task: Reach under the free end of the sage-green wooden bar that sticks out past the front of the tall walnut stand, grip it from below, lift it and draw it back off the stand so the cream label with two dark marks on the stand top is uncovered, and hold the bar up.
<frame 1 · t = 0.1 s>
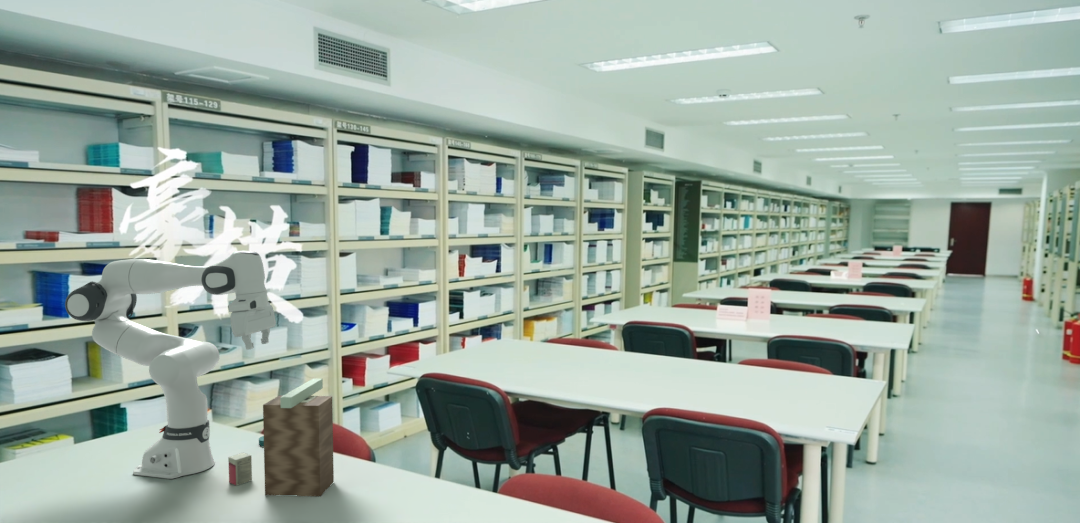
hand: (257, 346, 197), 39 cm above the table, tool pointing down, fingers open, 8 cm apart
bracket: (282, 446, 221), on the table
stand: (300, 488, 184), on the table
bar: (302, 397, 186), point 26 cm above the table, touching stand
small box: (240, 482, 189), on the table
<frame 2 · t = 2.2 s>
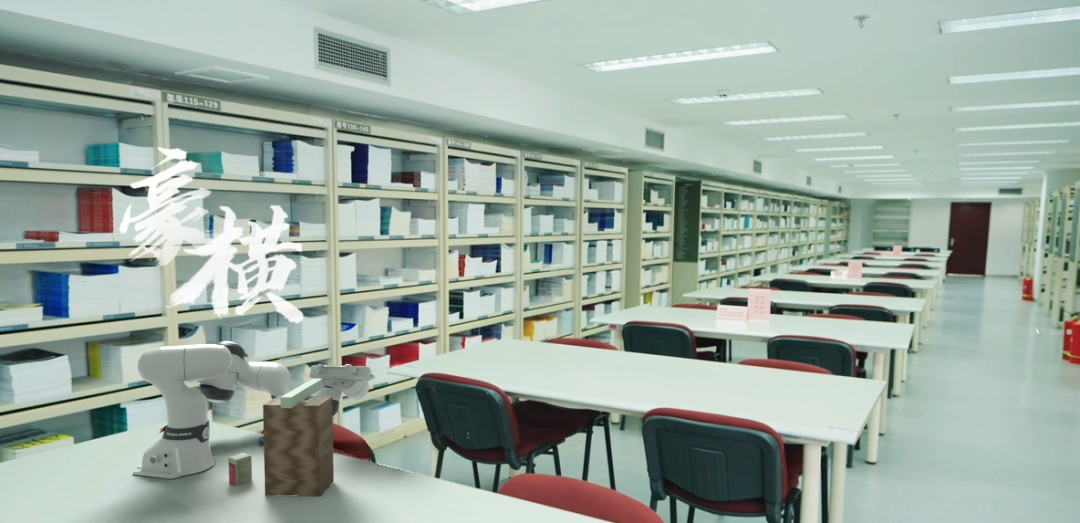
hand: (333, 366, 209), 30 cm above the table, tool pointing upward, fingers open, 8 cm apart
nothing on the table moved.
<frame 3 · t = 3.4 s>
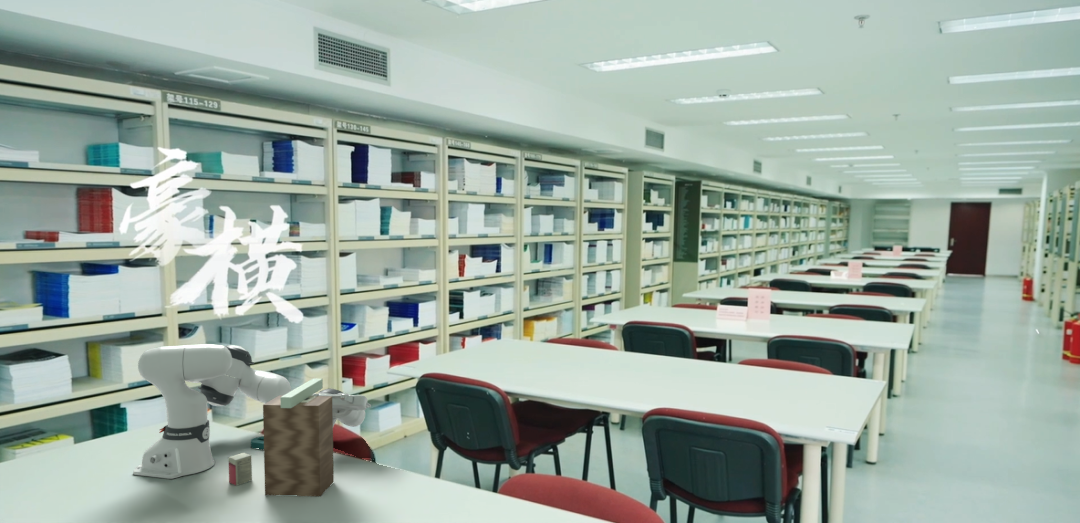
hand: (328, 396, 205), 21 cm above the table, tool pointing upward, fingers open, 8 cm apart
bracket: (274, 448, 219), on the table, touching arm
everything else where it was.
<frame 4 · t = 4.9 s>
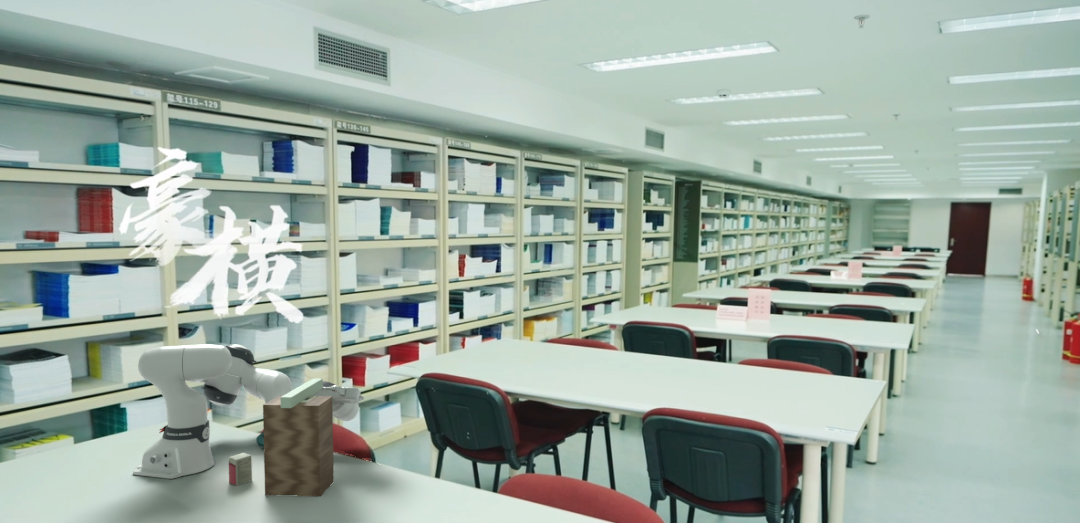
hand: (319, 388, 197), 26 cm above the table, tool pointing upward, fingers open, 8 cm apart
bracket: (276, 444, 218), point 1 cm above the table
everything else where it was.
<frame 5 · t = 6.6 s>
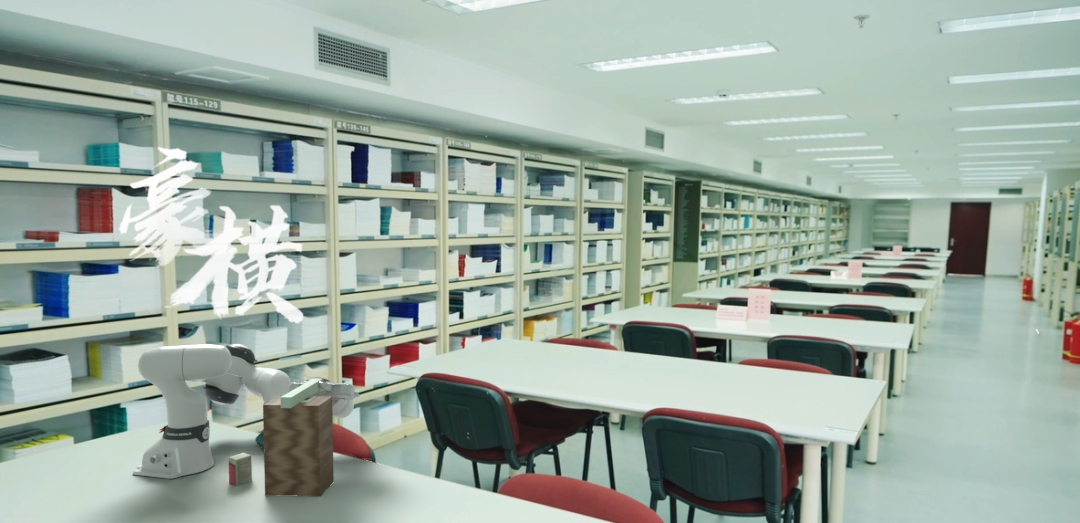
hand: (313, 384, 193), 28 cm above the table, tool pointing upward, fingers closed on bar, 3 cm apart
bracket: (275, 444, 218), point 1 cm above the table, touching arm
bar: (302, 397, 186), point 26 cm above the table, touching gripper, stand
everything else where it was.
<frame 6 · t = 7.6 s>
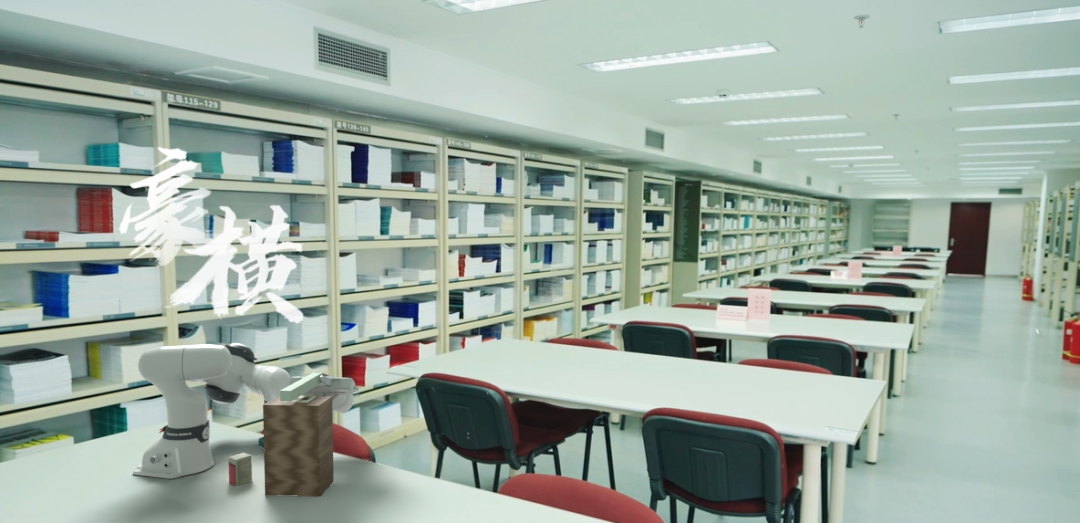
hand: (313, 378, 193), 30 cm above the table, tool pointing upward, fingers closed on bar, 3 cm apart
bracket: (276, 449, 218), on the table
bar: (302, 391, 185), point 28 cm above the table, touching gripper
everything else where it was.
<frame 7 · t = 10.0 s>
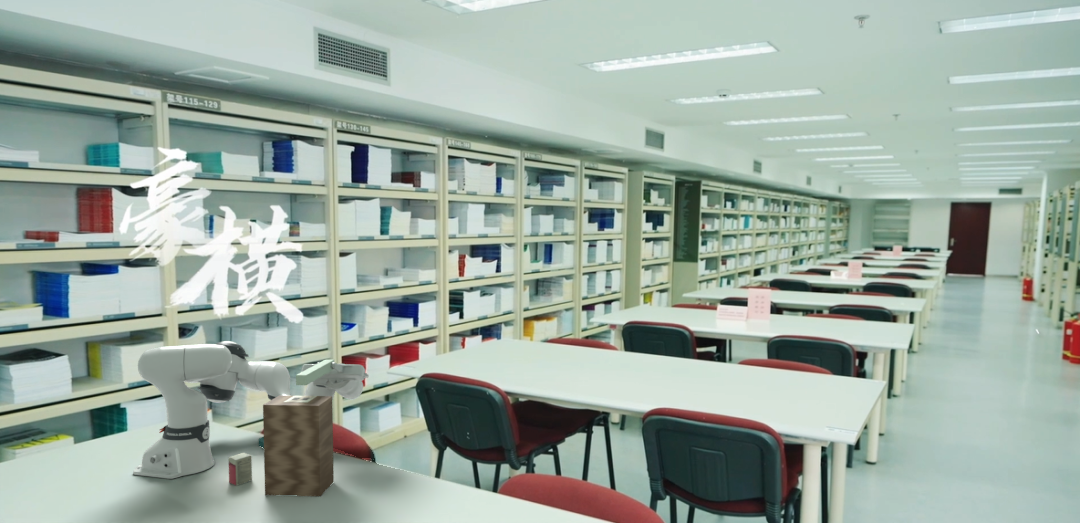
hand: (326, 364, 203), 32 cm above the table, tool pointing upward, fingers closed on bar, 3 cm apart
bar: (316, 376, 195), point 30 cm above the table, touching gripper
everything else where it was.
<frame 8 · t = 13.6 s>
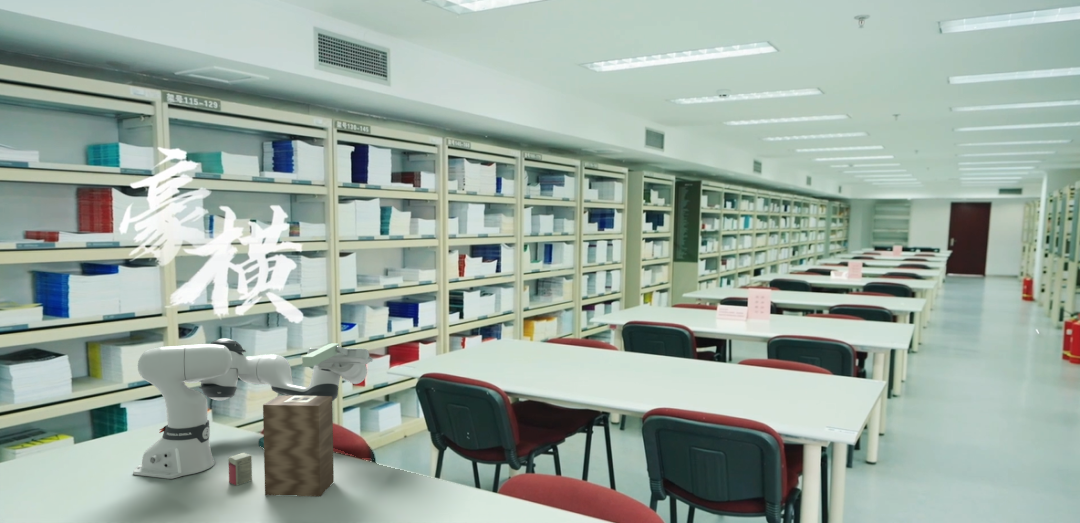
hand: (331, 348, 207), 36 cm above the table, tool pointing upward, fingers closed on bar, 3 cm apart
bar: (321, 359, 199), point 34 cm above the table, touching gripper
everything else where it was.
at the end: the gripper is holding bar; bar touching gripper; bar moved 16.6 cm from its start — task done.
